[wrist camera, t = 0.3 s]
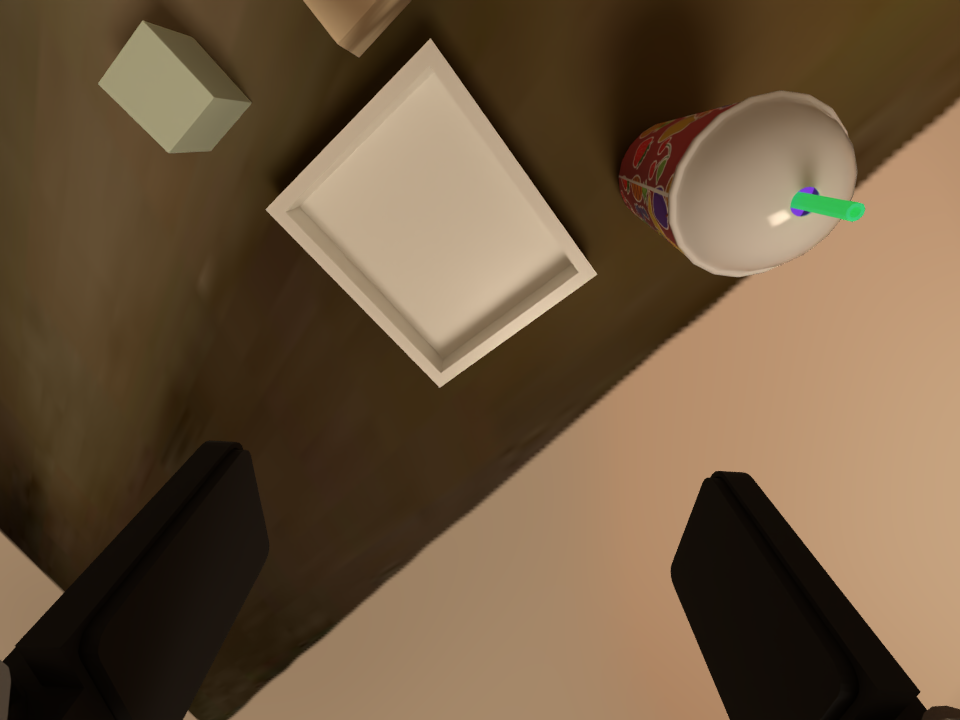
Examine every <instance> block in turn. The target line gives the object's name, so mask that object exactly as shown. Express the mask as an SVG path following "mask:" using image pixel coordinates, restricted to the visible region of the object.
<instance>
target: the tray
mask: <svg viewBox="0 0 960 720" xmlns="http://www.w3.org/2000/svg"><path fill="white" fill-rule="evenodd" d="M266 211H267V212H268V213H269V214H270V215H271V216H272V217H273V218H274V219H275V220H276V221H277V222H278V223H279V224H280V225H281V226H282V227H283V228H284V229H285V230H286V231H287V232H288V233H289V234H290V235H291V236H292V237H293V238H294V239H295V240H296V241H297V242H298V243H299V244H300V245H301V246H302V247H303V248H304V249H305V250H306V251H307V252H308V254H309V255H310V256H311V257H312V258H313V259H314V260H315V261H316V262H317V263H318V264H319V265H320V266H321V267H322V268H323V269H324V270H325V271H326V272H327V273H328V274H329V275H330V276H331V277H332V278H333V279H334V280H335V281H336V282H337V283H338V284H339V285H340V286H341V287H342V288H343V289H344V290H345V291H346V292H347V293H348V294H349V295H350V296H351V297H352V298H353V299H354V300H355V301H356V303H357V304H358V305H359V306H360V307H361V308H362V309H363V310H364V311H365V312H366V313H367V314H368V315H369V316H370V317H371V318H372V319H373V320H374V321H375V322H376V323H377V324H378V325H379V326H380V327H381V328H382V329H383V330H384V331H385V332H386V333H387V334H388V335H389V336H390V337H391V338H392V339H393V340H394V341H395V342H396V343H397V344H398V345H399V346H400V347H401V348H402V349H403V350H404V352H405V353H406V354H407V355H408V356H409V357H410V358H411V359H412V360H413V361H414V362H415V363H416V364H417V365H418V366H419V367H420V368H421V369H422V370H423V371H424V372H425V373H426V374H427V375H428V376H429V377H430V378H431V379H432V380H433V381H434V382H435V383H436V384H437V385H438V386H439V387H441V386H443V385H444V384H445V383H447V382H448V381H450V380H451V379H452V378H454V377H455V376H456V375H458V374H459V373H461V372H462V371H463V370H465V369H466V368H468V367H469V366H470V365H472V364H473V363H475V362H476V361H477V360H479V359H480V358H482V357H483V356H484V355H486V354H487V353H489V352H490V351H491V350H493V349H494V348H495V347H497V346H498V345H500V344H501V343H502V342H504V341H505V340H507V339H508V338H509V337H511V336H512V335H514V334H515V333H516V332H518V331H519V330H521V329H522V328H523V327H525V326H526V325H527V324H529V323H530V322H532V321H533V320H534V319H536V318H537V317H539V316H540V315H541V314H543V313H544V312H546V311H547V310H548V309H550V308H551V307H553V306H554V305H555V304H557V303H558V302H560V301H561V300H562V299H564V298H565V297H566V296H568V295H569V294H571V293H572V292H573V291H575V290H576V289H578V288H579V287H580V286H582V285H583V284H585V283H586V282H587V281H589V280H590V279H592V278H593V277H594V276H596V275H597V274H596V272H595V271H594V269H593V268H592V266H591V265H590V264H589V262H588V261H587V259H586V258H585V257H584V255H583V254H582V252H581V251H580V249H579V248H578V247H577V245H576V244H575V242H574V241H573V240H572V238H571V237H570V235H569V234H568V232H567V231H566V230H565V228H564V227H563V225H562V224H561V223H560V221H559V220H558V218H557V217H556V215H555V214H554V213H553V211H552V210H551V208H550V207H549V206H548V204H547V203H546V201H545V200H544V198H543V197H542V196H541V194H540V193H539V191H538V190H537V188H536V187H535V186H534V184H533V183H532V181H531V180H530V179H529V177H528V176H527V174H526V173H525V171H524V170H523V169H522V167H521V166H520V164H519V163H518V162H517V160H516V159H515V157H514V156H513V154H512V153H511V152H510V150H509V149H508V147H507V146H506V145H505V143H504V142H503V140H502V139H501V137H500V136H499V135H498V133H497V132H496V130H495V129H494V128H493V126H492V125H491V123H490V122H489V120H488V119H487V118H486V116H485V115H484V113H483V112H482V111H481V109H480V108H479V106H478V105H477V103H476V102H475V101H474V99H473V98H472V96H471V95H470V94H469V92H468V91H467V89H466V88H465V86H464V85H463V84H462V82H461V81H460V79H459V78H458V76H457V75H456V74H455V72H454V71H453V69H452V68H451V67H450V65H449V64H448V62H447V61H446V59H445V58H444V57H443V55H442V54H441V52H440V51H439V50H438V48H437V47H436V45H435V44H434V42H433V41H432V40H431V38H430V39H429V40H428V41H427V42H426V43H425V44H424V46H423V47H422V48H421V49H420V50H419V51H418V52H417V53H416V54H415V55H414V56H413V57H412V58H411V59H410V60H409V61H408V62H407V63H406V64H405V65H404V66H403V67H402V68H401V69H400V70H399V71H398V73H397V74H396V75H395V76H394V77H393V78H392V79H391V80H390V81H389V82H388V83H387V84H386V85H385V86H384V87H383V88H382V89H381V90H380V91H379V92H378V93H377V94H376V95H375V96H374V97H373V98H372V100H371V101H370V102H369V103H368V104H367V105H366V106H365V107H364V108H363V109H362V110H361V111H360V112H359V113H358V114H357V115H356V116H355V117H354V118H353V119H352V120H351V121H350V122H349V123H348V124H347V125H346V127H345V128H344V129H343V130H342V131H341V132H340V133H339V134H338V135H337V136H336V137H335V138H334V139H333V140H332V141H331V142H330V143H329V144H328V145H327V146H326V147H325V148H324V149H323V150H322V151H321V152H320V154H319V155H318V156H317V157H316V158H315V159H314V160H313V161H312V162H311V163H310V164H309V165H308V166H307V167H306V168H305V169H304V170H303V171H302V172H301V173H300V174H299V175H298V176H297V177H296V178H295V179H294V181H293V182H292V183H291V184H290V185H289V186H288V187H287V188H286V189H285V190H284V191H283V192H282V193H281V194H280V195H279V196H278V197H277V198H276V199H275V200H274V201H273V202H272V203H271V204H270V205H269V206H268V208H267V209H266Z"/></svg>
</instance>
